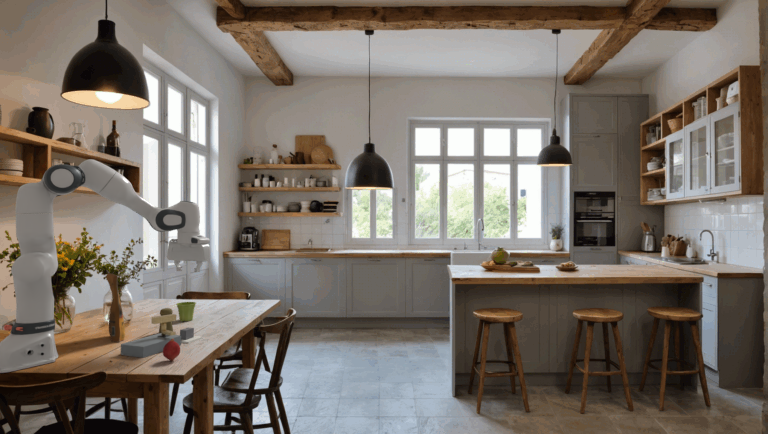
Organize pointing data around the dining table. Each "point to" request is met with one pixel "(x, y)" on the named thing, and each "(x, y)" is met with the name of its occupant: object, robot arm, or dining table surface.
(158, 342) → the case
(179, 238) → the robot arm
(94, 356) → the dining table surface
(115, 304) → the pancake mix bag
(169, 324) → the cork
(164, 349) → the onion
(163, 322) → the t key
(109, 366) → the dining table surface
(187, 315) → the plant pot
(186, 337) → the cover
